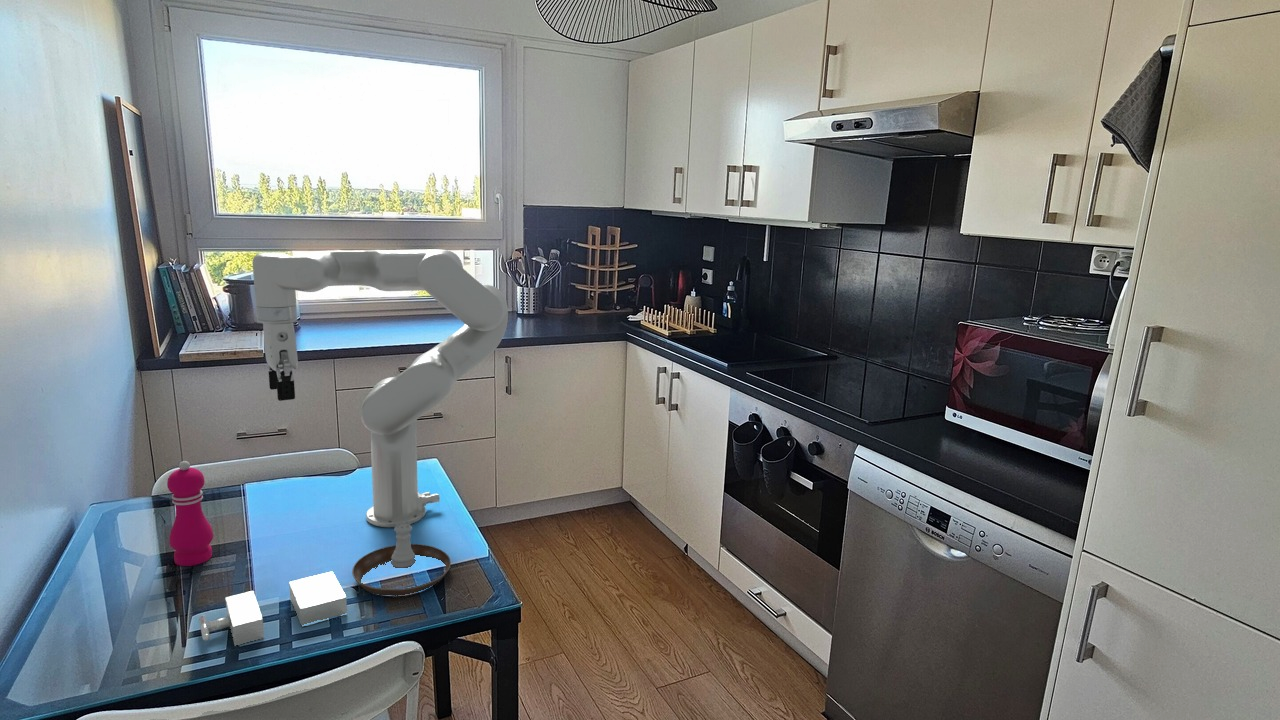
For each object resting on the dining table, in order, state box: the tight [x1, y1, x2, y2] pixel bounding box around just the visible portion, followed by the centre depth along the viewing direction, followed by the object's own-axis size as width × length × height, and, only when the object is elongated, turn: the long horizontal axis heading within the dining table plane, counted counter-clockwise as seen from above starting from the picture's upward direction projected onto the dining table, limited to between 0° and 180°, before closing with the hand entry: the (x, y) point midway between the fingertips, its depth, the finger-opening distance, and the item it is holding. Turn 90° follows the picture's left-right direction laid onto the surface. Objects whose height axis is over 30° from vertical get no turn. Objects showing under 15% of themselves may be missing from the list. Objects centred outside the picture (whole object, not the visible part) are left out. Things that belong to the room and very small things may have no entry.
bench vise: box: [198, 571, 348, 647], centre depth 123 cm, size 21×10×4 cm, turn 125°
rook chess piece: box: [391, 521, 416, 568], centre depth 137 cm, size 4×4×8 cm
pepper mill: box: [166, 460, 214, 567], centre depth 139 cm, size 7×7×20 cm
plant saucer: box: [351, 543, 452, 596], centre depth 138 cm, size 18×18×3 cm
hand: (282, 394), depth 154 cm, fingers open, 9 cm apart
